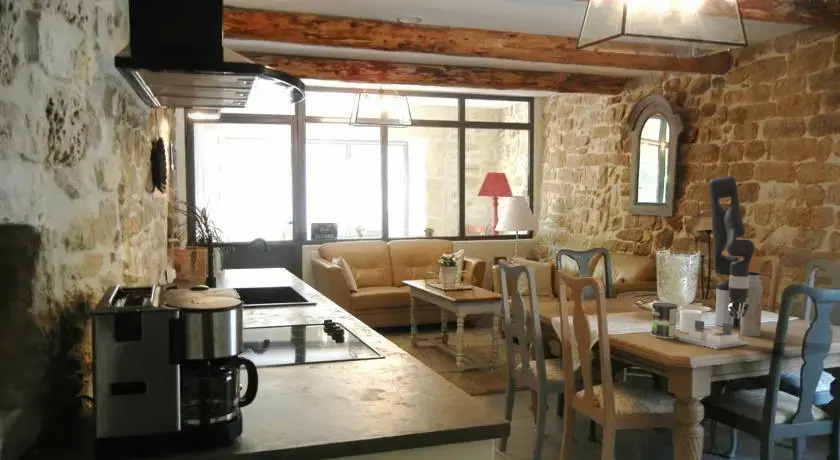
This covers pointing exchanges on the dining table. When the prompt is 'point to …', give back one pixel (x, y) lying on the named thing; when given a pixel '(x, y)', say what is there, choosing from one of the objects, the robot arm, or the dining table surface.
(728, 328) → the breaker handle
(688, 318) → the mug
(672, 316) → the coffee can
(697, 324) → the on breaker handle
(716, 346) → the breaker panel
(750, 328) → the thermos bottle
